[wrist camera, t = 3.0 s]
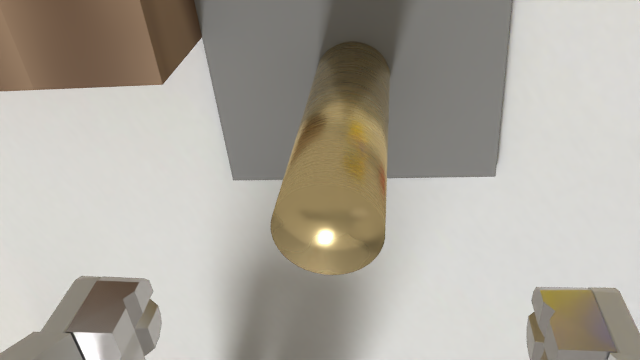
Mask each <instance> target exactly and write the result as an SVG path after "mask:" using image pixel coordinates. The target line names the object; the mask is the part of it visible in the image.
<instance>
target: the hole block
mask: <svg viewBox="0 0 640 360" xmlns="http://www.w3.org/2000/svg"><path fill="white" fill-rule="evenodd" d="M201 38H202V34H201V30H200V25H199V21H198V16H197V11H196V7H195V2H194V0H0V91H20V90H44V89H68V88H92V87H116V86H140V85H163V83H164V82H165V81H166V80H167V79H168V77H169V76H170V75H171V74H172V73H173V71H174V70H175V69H176V68H177V67H178V65H179V64H180V63H181V62H182V61H183V59H184V58H185V57H186V56H187V55H188V53H189V52H190V51H191V50H192V49H193V47H194V46H195V45H196V44H197V43H198V41H199V40H200V39H201Z"/></svg>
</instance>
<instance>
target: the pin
mask: <svg viewBox="0 0 640 360" xmlns="http://www.w3.org/2000/svg"><path fill="white" fill-rule="evenodd" d="M389 90H390V71H389V67H388V64H387V62H386V60H385V58H384V57H383V55H382V54H381V53H380V52H379V51H378V50H376V49H375V48H374V47H372V46H370V45H368V44H365V43H362V42H356V41H350V42H344V43H340V44H337V45H335V46H333V47H332V48H330V49H329V50H328V51H327V52H326V53H325V54H324V55H323V56H322V58H321V60H320V62H319V64H318V67H317V70H316V74H315V77H314V80H313V84H312V87H311V90H310V93H309V97H308V100H307V103H306V107H305V110H304V113H303V116H302V120H301V123H300V126H299V130H298V133H297V136H296V139H295V143H294V146H293V149H292V153H291V156H290V159H289V162H288V166H287V169H286V172H285V176H284V179H283V182H282V186H281V189H280V192H279V195H278V199H277V202H276V205H275V209H274V212H273V215H272V219H271V234H272V237H273V240H274V242H275V244H276V246H277V248H278V249H279V250H280V252H281V253H282V254H283V255H284V256H285V257H286V258H287V259H288V260H290V261H291V262H292V263H294V264H295V265H297V266H299V267H301V268H303V269H305V270H308V271H311V272H315V273H319V274H326V275H340V274H346V273H351V272H354V271H357V270H359V269H361V268H363V267H365V266H366V265H368V264H369V263H371V262H372V261H373V260H374V259H375V258H376V257H377V256H378V254H379V253H380V251H381V249H382V247H383V244H384V240H385V218H386V186H387V154H388V122H389Z"/></svg>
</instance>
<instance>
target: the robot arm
mask: <svg viewBox="0 0 640 360" xmlns="http://www.w3.org/2000/svg"><path fill="white" fill-rule="evenodd" d="M152 293H153V289H152V286H151V284H150V281H149V280H147V279H144V278H123V277H93V276H81V277H79V278H78V279H76V280H75V281H74V282H73V284H72V285H71V287H70V288H69V290H68V291H67V293H66V294H65V296H64V297H63V299H62V300H61V302H60V303H59V305H58V306H57V308H56V309H55V311H54V312H53V314H52V315H51V317H50V318H49V320H48V321H47V323H46V324H45V326H44V327H43V329H42V330H41V332H33V333H31V334H30V335H28V336H27V337H25V338H24V339H22V340H20V341H19V342H17V343H16V344H14V345H13V346H11V347H10V348H8V349H6V350H5V351H3V352H2V353H0V360H145V357H144V356H146V355H147V354H148V353H149V352H151V351H152V350H153V349H154V348H155V347H156V344H157V342H158V339H159V337H160V330H161V324H162V323H161V313H160V310H159V307H158V305H157V304H156V303H154V302H153V301H152V300H151V299H150V297H151V295H152ZM531 301H532V305H533V308H534V312H533V313H532V314H531V315H530V316H528V322H527V348H528V354H529V358H530V360H640V333H639V331H638V329H637V327H636V325H635V322H634V320H633V318H632V316H631V314H630V312H629V310H628V308H627V306H626V304H625V302H624V299H623V297H622V295H621V293H620V291H618V290H617V289H616V288H573V287H536V288H535V290H534V291H533V296H532V300H531Z"/></svg>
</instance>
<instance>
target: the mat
mask: <svg viewBox="0 0 640 360" xmlns="http://www.w3.org/2000/svg"><path fill="white" fill-rule="evenodd" d="M194 2H195V7H196V11H197V16H198V21H199V25H200V30H201V34H202V39H203V44H204V48H205V53H206V57H207V62H208V67H209V71H210V76H211V80H212V85H213V90H214V94H215V99H216V103H217V108H218V113H219V117H220V122H221V126H222V131H223V135H224V140H225V145H226V149H227V154H228V158H229V163H230V168H231V172H232V177H233V180H283V179H284V176H285V172H286V169H287V166H288V162H289V159H290V156H291V153H292V149H293V146H294V143H295V139H296V136H297V133H298V130H299V126H300V123H301V120H302V116H303V113H304V110H305V107H306V103H307V100H308V97H309V93H310V90H311V87H312V84H313V80H314V77H315V74H316V70H317V67H318V64H319V62H320V60H321V58H322V56H323V55H324V54H325V53H326V52H327V51H328V50H329V49H330V48H332V47H333V46H335V45H337V44H340V43H344V42H350V41H356V42H362V43H365V44H368V45H370V46H372V47H374V48H375V49H376V50H378V51H379V52H380V53H381V54H382V55H383V57H384V58H385V60H386V62H387V64H388V67H389V71H390V90H389V122H388V154H387V178H429V177H495V175H496V165H497V154H498V144H499V133H500V123H501V112H502V101H503V91H504V80H505V70H506V59H507V49H508V38H509V28H510V17H511V6H512V0H194Z"/></svg>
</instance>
